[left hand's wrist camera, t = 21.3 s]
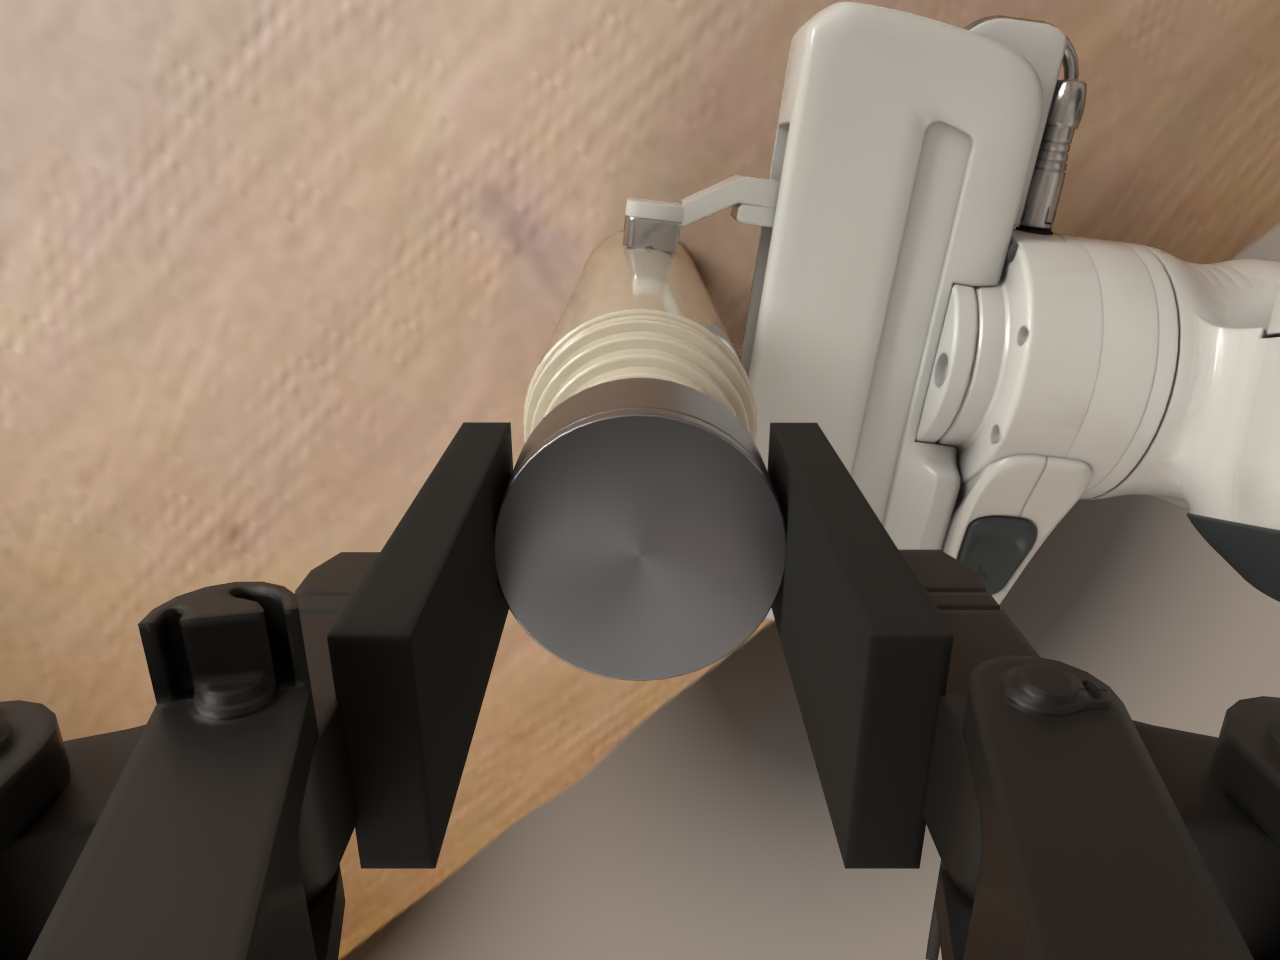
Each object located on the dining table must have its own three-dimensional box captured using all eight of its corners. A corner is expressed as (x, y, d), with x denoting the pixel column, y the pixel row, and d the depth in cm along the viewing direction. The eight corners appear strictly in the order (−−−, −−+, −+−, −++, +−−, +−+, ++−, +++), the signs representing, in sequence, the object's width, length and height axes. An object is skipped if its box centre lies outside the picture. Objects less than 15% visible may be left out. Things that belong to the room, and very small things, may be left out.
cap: (600, 653, 15) (594, 725, 13) (460, 461, 14) (432, 510, 12) (813, 540, 15) (839, 599, 13) (685, 326, 13) (693, 355, 11)
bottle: (715, 247, 35) (852, 431, 12) (680, 362, 37) (744, 709, 14) (598, 212, 35) (517, 336, 12) (567, 330, 36) (445, 636, 14)
